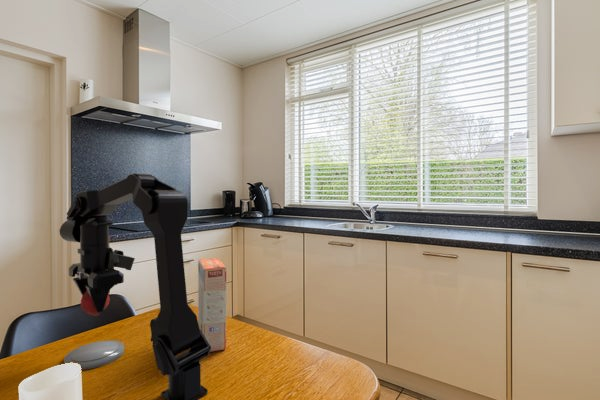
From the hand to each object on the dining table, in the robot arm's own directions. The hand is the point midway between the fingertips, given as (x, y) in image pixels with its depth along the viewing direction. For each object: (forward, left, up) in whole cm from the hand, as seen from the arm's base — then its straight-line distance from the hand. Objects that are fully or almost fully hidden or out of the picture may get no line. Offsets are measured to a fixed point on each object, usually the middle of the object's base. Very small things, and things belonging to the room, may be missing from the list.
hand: (95, 309), depth 76 cm
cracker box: (-14, -23, -12) cm, 29 cm away
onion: (0, 0, -2) cm, 2 cm away
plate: (0, 0, -11) cm, 11 cm away
